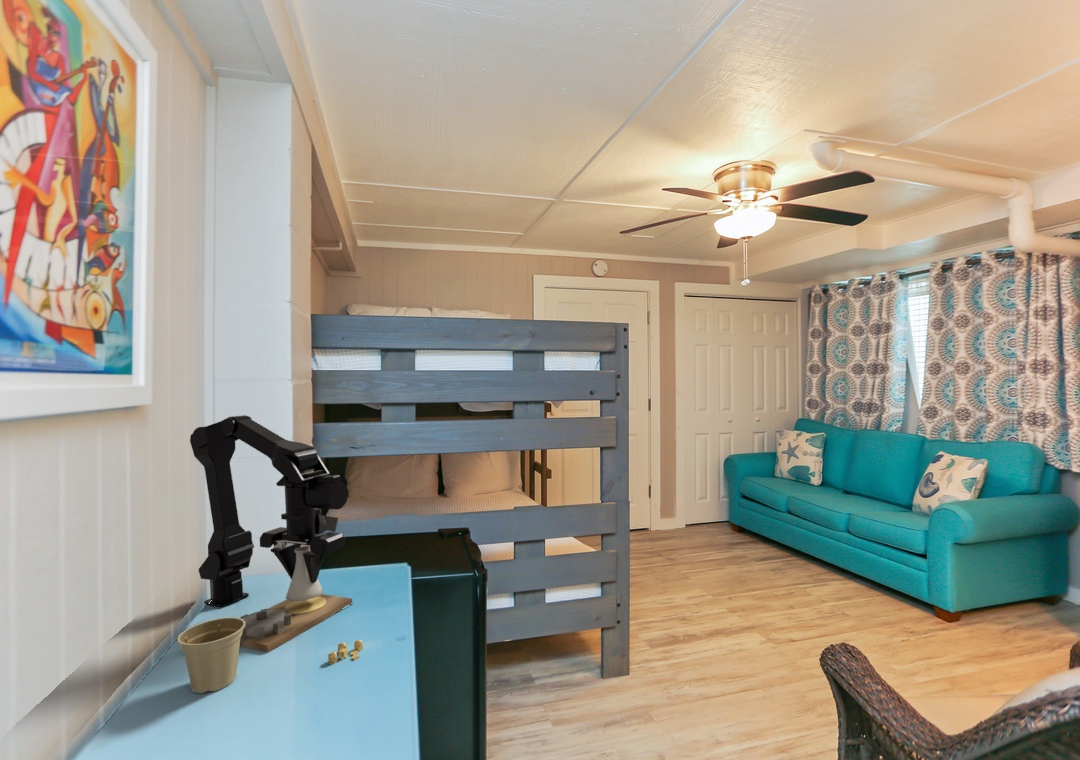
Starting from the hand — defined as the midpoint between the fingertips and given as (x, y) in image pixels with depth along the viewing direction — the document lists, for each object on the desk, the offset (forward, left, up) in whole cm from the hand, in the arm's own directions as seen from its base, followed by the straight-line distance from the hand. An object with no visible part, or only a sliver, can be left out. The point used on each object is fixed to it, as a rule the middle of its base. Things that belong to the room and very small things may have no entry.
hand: (304, 580), depth 112 cm
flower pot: (+7, -25, -7) cm, 27 cm away
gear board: (0, -4, -7) cm, 8 cm away
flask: (0, 0, -3) cm, 3 cm away
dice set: (+22, -11, -7) cm, 25 cm away
